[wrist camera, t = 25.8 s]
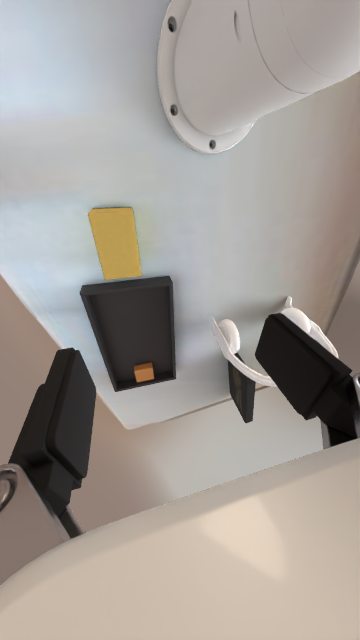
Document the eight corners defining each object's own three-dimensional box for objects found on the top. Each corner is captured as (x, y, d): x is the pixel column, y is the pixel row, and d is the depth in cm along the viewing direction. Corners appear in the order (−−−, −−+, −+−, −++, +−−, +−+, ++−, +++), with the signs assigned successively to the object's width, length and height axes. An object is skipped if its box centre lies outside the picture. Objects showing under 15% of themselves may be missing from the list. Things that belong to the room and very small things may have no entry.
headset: (206, 335, 44) (246, 407, 30) (208, 309, 40) (256, 379, 26) (282, 320, 48) (350, 378, 34) (291, 295, 43) (373, 350, 29)
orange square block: (133, 365, 43) (134, 371, 42) (151, 362, 44) (152, 367, 42) (136, 377, 45) (136, 382, 44) (153, 373, 46) (154, 378, 45)
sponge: (92, 208, 25) (87, 213, 21) (131, 206, 26) (133, 211, 22) (106, 267, 30) (104, 280, 26) (139, 264, 31) (141, 276, 27)
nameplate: (235, 391, 62) (252, 422, 54) (230, 393, 62) (246, 424, 54) (233, 347, 49) (255, 379, 41) (227, 349, 49) (247, 382, 41)
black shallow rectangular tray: (82, 285, 31) (79, 292, 29) (169, 275, 33) (172, 281, 31) (115, 382, 46) (114, 392, 43) (173, 370, 48) (176, 379, 46)
